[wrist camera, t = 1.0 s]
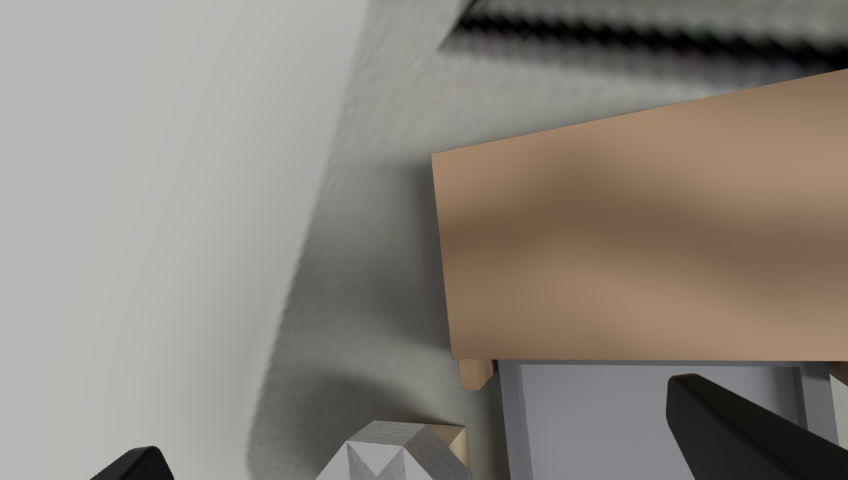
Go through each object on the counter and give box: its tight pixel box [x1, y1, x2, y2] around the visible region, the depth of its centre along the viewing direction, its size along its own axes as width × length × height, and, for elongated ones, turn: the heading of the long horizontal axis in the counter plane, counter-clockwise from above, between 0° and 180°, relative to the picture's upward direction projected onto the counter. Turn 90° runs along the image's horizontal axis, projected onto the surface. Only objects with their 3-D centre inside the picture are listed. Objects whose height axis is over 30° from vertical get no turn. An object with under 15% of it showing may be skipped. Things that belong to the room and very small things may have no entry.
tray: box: [498, 359, 839, 480], centre depth 18 cm, size 11×13×4 cm
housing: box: [431, 69, 848, 390], centre depth 18 cm, size 10×14×5 cm
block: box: [403, 422, 470, 470], centre depth 23 cm, size 4×4×4 cm
